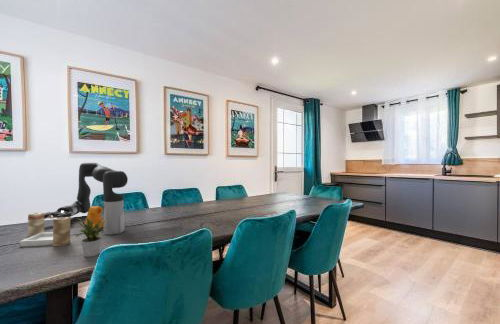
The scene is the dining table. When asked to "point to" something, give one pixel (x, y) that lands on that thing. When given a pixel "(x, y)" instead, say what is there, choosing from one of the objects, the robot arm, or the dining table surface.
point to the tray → (38, 240)
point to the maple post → (35, 223)
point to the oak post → (61, 231)
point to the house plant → (91, 238)
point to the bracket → (97, 213)
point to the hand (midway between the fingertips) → (49, 217)
